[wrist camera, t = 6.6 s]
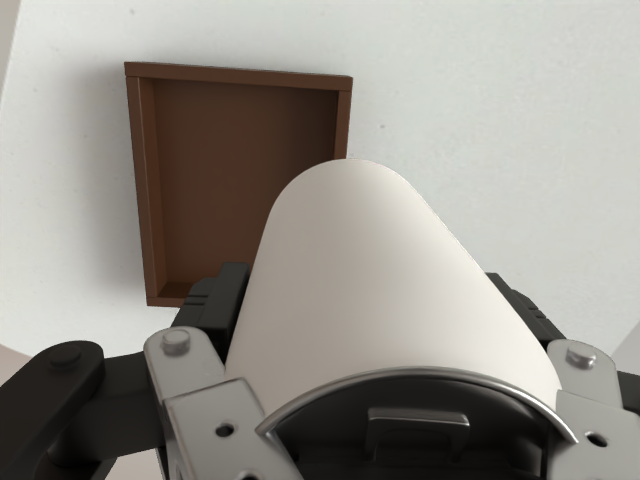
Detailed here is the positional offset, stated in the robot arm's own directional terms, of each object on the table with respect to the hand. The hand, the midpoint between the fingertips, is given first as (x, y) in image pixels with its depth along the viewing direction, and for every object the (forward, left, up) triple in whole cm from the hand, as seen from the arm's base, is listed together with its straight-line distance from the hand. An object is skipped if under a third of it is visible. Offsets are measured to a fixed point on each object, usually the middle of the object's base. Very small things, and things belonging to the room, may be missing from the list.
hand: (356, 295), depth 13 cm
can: (0, 0, -5) cm, 5 cm away
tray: (+1, -6, -20) cm, 21 cm away
